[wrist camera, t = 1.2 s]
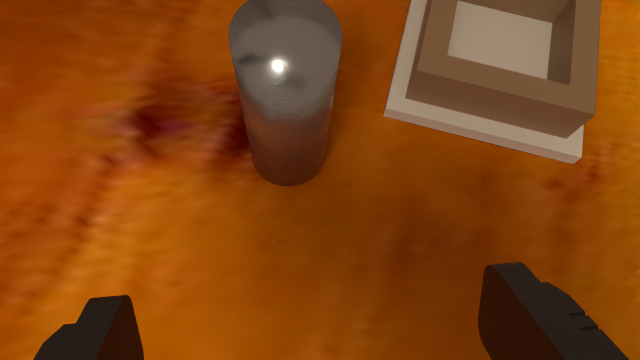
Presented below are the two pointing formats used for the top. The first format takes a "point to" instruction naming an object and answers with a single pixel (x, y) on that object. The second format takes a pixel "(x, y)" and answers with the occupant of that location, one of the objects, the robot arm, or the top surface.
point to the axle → (286, 83)
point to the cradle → (500, 72)
